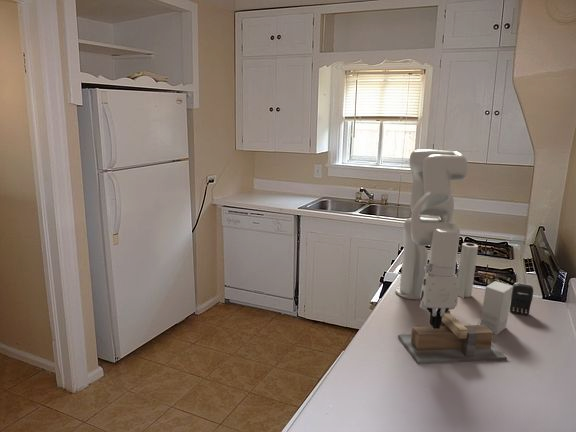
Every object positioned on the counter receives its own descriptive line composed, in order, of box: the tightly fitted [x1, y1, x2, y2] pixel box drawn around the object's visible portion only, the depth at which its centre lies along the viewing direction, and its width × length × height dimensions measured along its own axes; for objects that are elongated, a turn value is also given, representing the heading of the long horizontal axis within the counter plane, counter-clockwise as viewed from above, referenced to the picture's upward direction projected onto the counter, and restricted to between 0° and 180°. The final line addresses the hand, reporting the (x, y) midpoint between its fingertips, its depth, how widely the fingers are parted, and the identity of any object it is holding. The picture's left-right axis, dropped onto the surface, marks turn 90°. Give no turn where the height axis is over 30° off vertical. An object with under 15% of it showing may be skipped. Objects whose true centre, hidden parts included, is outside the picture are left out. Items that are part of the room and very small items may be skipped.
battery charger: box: [509, 282, 534, 316], centre depth 173 cm, size 7×4×11 cm, turn 67°
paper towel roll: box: [457, 242, 479, 299], centre depth 187 cm, size 7×6×21 cm
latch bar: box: [442, 310, 468, 339], centre depth 145 cm, size 15×4×3 cm, turn 7°
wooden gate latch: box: [397, 321, 508, 364], centre depth 145 cm, size 16×28×9 cm, turn 98°
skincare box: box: [479, 280, 513, 335], centre depth 159 cm, size 8×7×16 cm
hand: (434, 326), depth 142 cm, fingers closed
